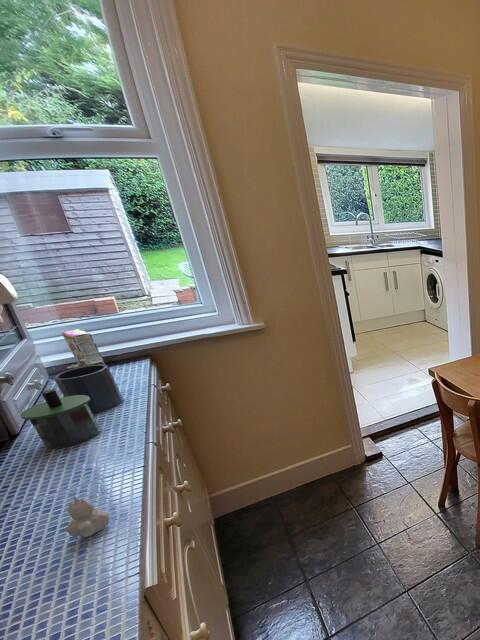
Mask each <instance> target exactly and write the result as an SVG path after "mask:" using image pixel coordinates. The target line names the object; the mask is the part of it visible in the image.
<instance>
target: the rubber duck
mask: <svg viewBox="0 0 480 640" xmlns="http://www.w3.org/2000/svg"><path fill="white" fill-rule="evenodd" d="M67 513H68V515H69V516H70V518H71V520H70V521H69V522H68V523H67V525H66V533H68V535H69V536H72V537H73V538H75V537H82V538H87V537H91V536H93V535H94V534H96V533H98V532H100V531H102V530H103V529H105V528H106V526H108V525H109V523H110V514H109V513H108V512H107V511H106V510H102V509H100V508H95V506H94V504H93V503H92V502H91V501H90V500H86V499H84V498H80V500H79V498H77V497H76V496H75V495H73V502H69V504H68V509H67Z"/></svg>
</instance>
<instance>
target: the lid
mask: <svg viewBox="0 0 480 640" xmlns="http://www.w3.org/2000/svg"><path fill="white" fill-rule="evenodd" d="M41 396H42V397H43V399H44V401H43V402H40V403H38V404H35V405H33V406H31V407H27V408H26V409H24V410H22V411H21V413H20V418H21V419H23V420H28V421H30V420H32V419H41V418H47V417H52V416H56V415H60V414H63V413H66V412H69V411H72V410H75V409H77V408H79V407H81V406H83V405H85V404H87V403H88V402H89V401H90V398H89V396H86V395H74V396H67V397H64V396H63V397H60V396H59V395H58V393H57V391H56V389H47V390H43V391H42V392H41Z"/></svg>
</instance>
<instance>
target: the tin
mask: <svg viewBox="0 0 480 640" xmlns="http://www.w3.org/2000/svg"><path fill="white" fill-rule="evenodd" d="M53 379H54V381H55V384H56V385H57V387H58V389H59V390H60V392H61V394H62V396H63V397H67V396H74V395H86V396H89V398H90V401H89V402H88V403H87V405H88V406H89V408H90V410H91V412H92V414H93V415H94V414H97V413H102V412H105V411H108V410H110V409H113V408H115V407H118V406H119V405H120V404H122V403H123V402H124V397H123V396H122V393H121V391H120V389H119V387H118V385H117V383H116V380H115V378H114V377H113V374H112V373H111V370H110V368H109V366H108V365H90V366H84V367H79V368H75V369H71V370H68V371H66V370H65V371H62V372H60V373H58V374H56V375H55V376H53Z"/></svg>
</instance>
